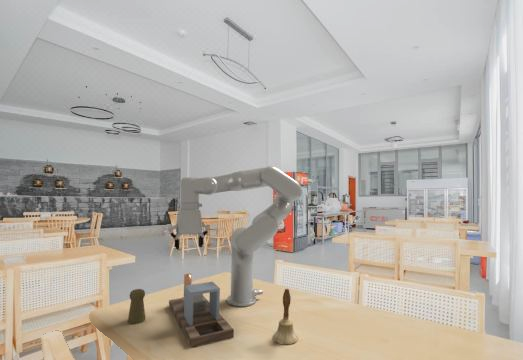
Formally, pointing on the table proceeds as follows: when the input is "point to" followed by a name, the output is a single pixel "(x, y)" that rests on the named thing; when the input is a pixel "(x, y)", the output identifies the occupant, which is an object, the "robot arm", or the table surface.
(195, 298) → the cream block
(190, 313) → the tunnel
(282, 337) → the hand bell
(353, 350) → the table surface
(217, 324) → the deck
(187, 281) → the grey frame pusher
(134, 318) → the cork
